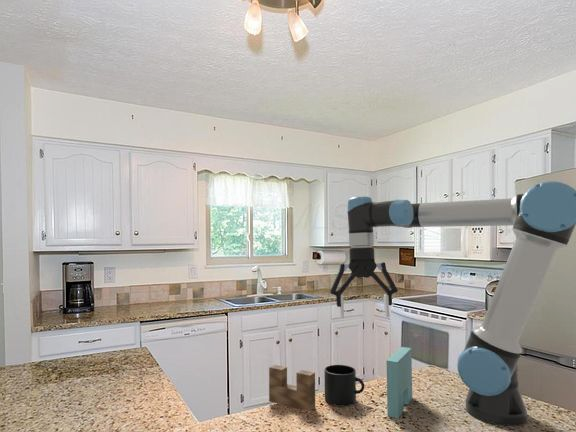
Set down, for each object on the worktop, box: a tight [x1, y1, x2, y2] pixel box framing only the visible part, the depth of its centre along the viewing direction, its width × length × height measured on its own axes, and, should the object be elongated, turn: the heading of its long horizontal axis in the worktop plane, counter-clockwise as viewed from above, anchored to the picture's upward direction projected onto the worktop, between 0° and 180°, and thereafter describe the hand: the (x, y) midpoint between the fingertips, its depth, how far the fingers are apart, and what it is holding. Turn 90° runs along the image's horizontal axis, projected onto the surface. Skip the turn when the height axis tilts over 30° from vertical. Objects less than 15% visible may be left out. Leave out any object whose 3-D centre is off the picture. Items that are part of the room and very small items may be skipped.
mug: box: [323, 364, 365, 407], centre depth 118 cm, size 9×12×9 cm
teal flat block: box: [386, 346, 413, 419], centre depth 113 cm, size 16×3×15 cm, turn 149°
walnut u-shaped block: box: [268, 364, 316, 412], centre depth 115 cm, size 14×3×10 cm, turn 59°
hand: (364, 317), depth 118 cm, fingers open, 13 cm apart
